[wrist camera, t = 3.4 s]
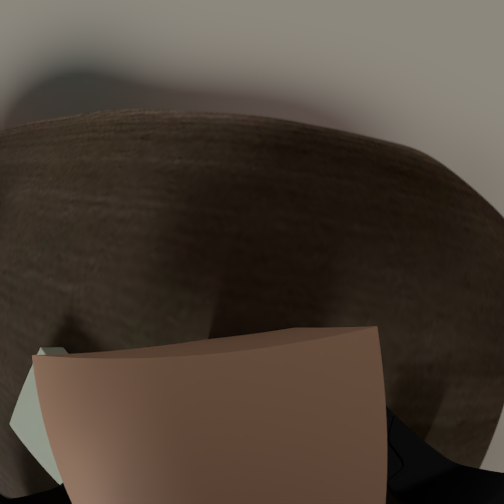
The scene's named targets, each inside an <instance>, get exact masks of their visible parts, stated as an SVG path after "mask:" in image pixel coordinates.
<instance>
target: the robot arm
mask: <svg viewBox="0 0 504 504" xmlns="http://www.w3.org/2000/svg"><path fill="white" fill-rule="evenodd" d="M393 415H394V414H393V413H392V412H391V411H390V410H389V409H388V408H387V407H386V420H387V488H386V504H504V473H500V472H494V471H488V470H483V469H477V468H473V467H468V466H464V465H460V464H457V463H455V462H452V461H451V460H449V459H447V458H446V457H444V456H443V455H442V454H440V453H439V452H438V451H436V450H435V449H434V448H432V447H431V446H430V445H428V444H427V443H426V442H424V441H423V440H422V439H420V438H419V437H418V436H417V435H416V434H414V433H413V432H412V431H411V430H410V429H409V428H408V427H407V426H405V425H404V424H403V423H402V422H401V421H400V420H399V419H398V418H397V417H396V416H395V415H394V416H393ZM0 504H72V502H71V500H70V498H69V495H68V493H67V491H66V488H65V486H64V483H62V484H60V485H59V486H57V487H56V488H53V489H51V490H47V491H44V492H40V493H36V494H32V495H28V496H24V497H19V498H10V497H8V496H6V495H4V494H2V493H0Z"/></svg>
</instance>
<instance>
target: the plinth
mask: <svg viewBox="0 0 504 504" xmlns="http://www.w3.org/2000/svg"><path fill="white" fill-rule="evenodd" d="M54 354H68V353H67V351H66V350H65V349H64V348H63V347H40V350H39V352H38V354H37V355H54ZM9 425H10V426H11V427H12V429H13V430H14V432H15V433H16V434H17V436H18V437H19V438H20V440H21V441H22V442H23V444H24V445H25V446H26V447H27V449H28V450H29V451H30V452H31V454H32V455H33V456H34V457H35V458H36V460H37V461H38V462H39V463H40V464H41V465H42V467H43V468H44V469H45V470H46V471H47V472H48V473H49V474H50V475H51V476H52V477H53V479H54V480H55V481H56V482H57V483H58V484H59V485H60V484H62V483H63V481H62V478H61V476H60V473H59V470H58V468H57V465H56V462H55V459H54V456H53V453H52V450H51V447H50V443H49V440H48V436H47V433H46V429H45V425H44V421H43V417H42V413H41V408H40V403H39V399H38V393H37V388H36V382H35V375H34V368H33V365H32V367H31V369H30V371H29V374H28V376H27V378H26V381H25V383H24V386H23V388H22V391H21V393H20V396H19V399H18V401H17V404H16V407H15V409H14V412H13V415H12V418H11V421H10V424H9Z"/></svg>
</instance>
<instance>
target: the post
mask: <svg viewBox="0 0 504 504" xmlns="http://www.w3.org/2000/svg"><path fill="white" fill-rule="evenodd" d="M32 360H33V368H34V375H35V382H36V388H37V393H38V399H39V403H40V408H41V413H42V417H43V421H44V425H45V429H46V433H47V436H48V440H49V443H50V447H51V450H52V453H53V456H54V459H55V462H56V465H57V468H58V470H59V473H60V476H61V478H62V481H63V483H64V486H65V488H66V491H67V493H68V495H69V498H70V500H71V502H72V504H386V488H387V420H386V402H385V389H384V378H383V368H382V359H381V350H380V343H379V336H378V329H377V326H371V327H334V328H289V329H282V330H276V331H269V332H262V333H255V334H248V335H240V336H232V337H223V338H214V339H205V340H199V341H192V342H186V343H178V344H171V345H163V346H155V347H147V348H138V349H128V350H118V351H106V352H93V353H76V354H54V355H32Z"/></svg>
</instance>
